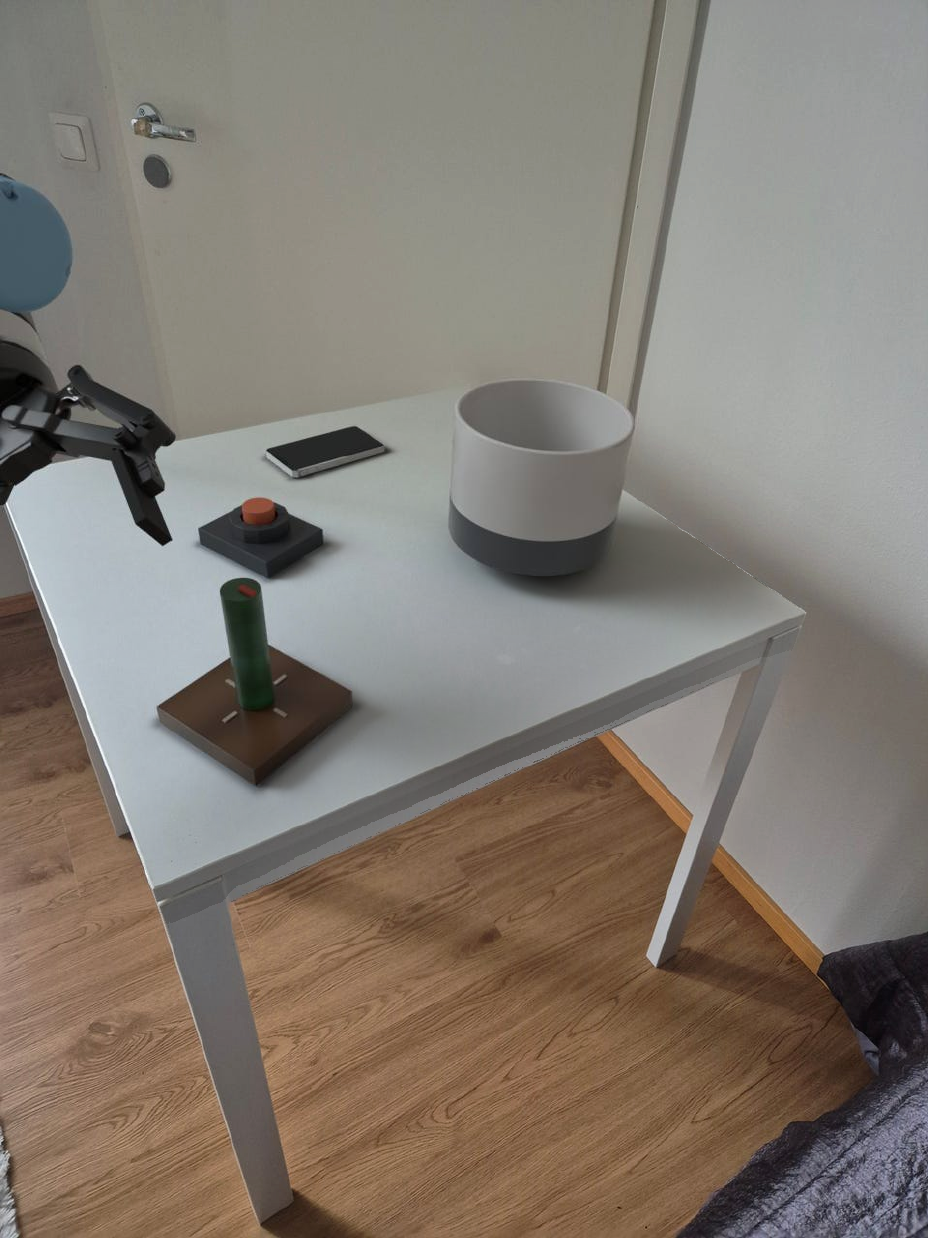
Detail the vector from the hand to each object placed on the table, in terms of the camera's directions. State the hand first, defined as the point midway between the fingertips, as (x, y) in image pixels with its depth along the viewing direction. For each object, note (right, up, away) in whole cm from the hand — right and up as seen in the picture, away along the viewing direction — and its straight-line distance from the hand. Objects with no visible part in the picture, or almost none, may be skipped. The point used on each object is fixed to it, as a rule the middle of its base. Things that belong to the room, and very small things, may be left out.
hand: (61, 592), depth 49 cm
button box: (+1, +7, +45) cm, 46 cm away
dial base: (+6, -10, +24) cm, 26 cm away
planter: (+32, +6, +48) cm, 58 cm away
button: (+1, +10, +43) cm, 44 cm away
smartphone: (+5, +22, +64) cm, 68 cm away
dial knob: (+6, -9, +22) cm, 25 cm away
